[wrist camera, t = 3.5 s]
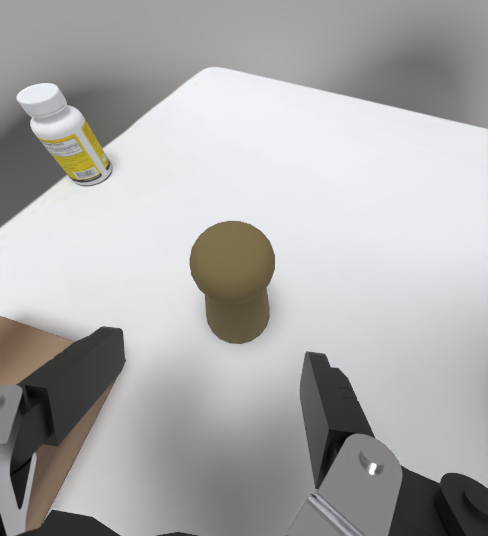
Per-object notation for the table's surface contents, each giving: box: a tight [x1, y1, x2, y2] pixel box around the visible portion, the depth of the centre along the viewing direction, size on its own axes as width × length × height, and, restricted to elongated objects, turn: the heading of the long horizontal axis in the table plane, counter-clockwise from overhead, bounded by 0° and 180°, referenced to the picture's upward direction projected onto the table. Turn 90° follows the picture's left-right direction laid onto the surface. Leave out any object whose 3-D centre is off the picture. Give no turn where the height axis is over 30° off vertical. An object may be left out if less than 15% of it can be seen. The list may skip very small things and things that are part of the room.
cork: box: [190, 221, 275, 344], centre depth 18 cm, size 6×6×11 cm
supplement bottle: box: [17, 83, 112, 185], centre depth 29 cm, size 5×5×10 cm
